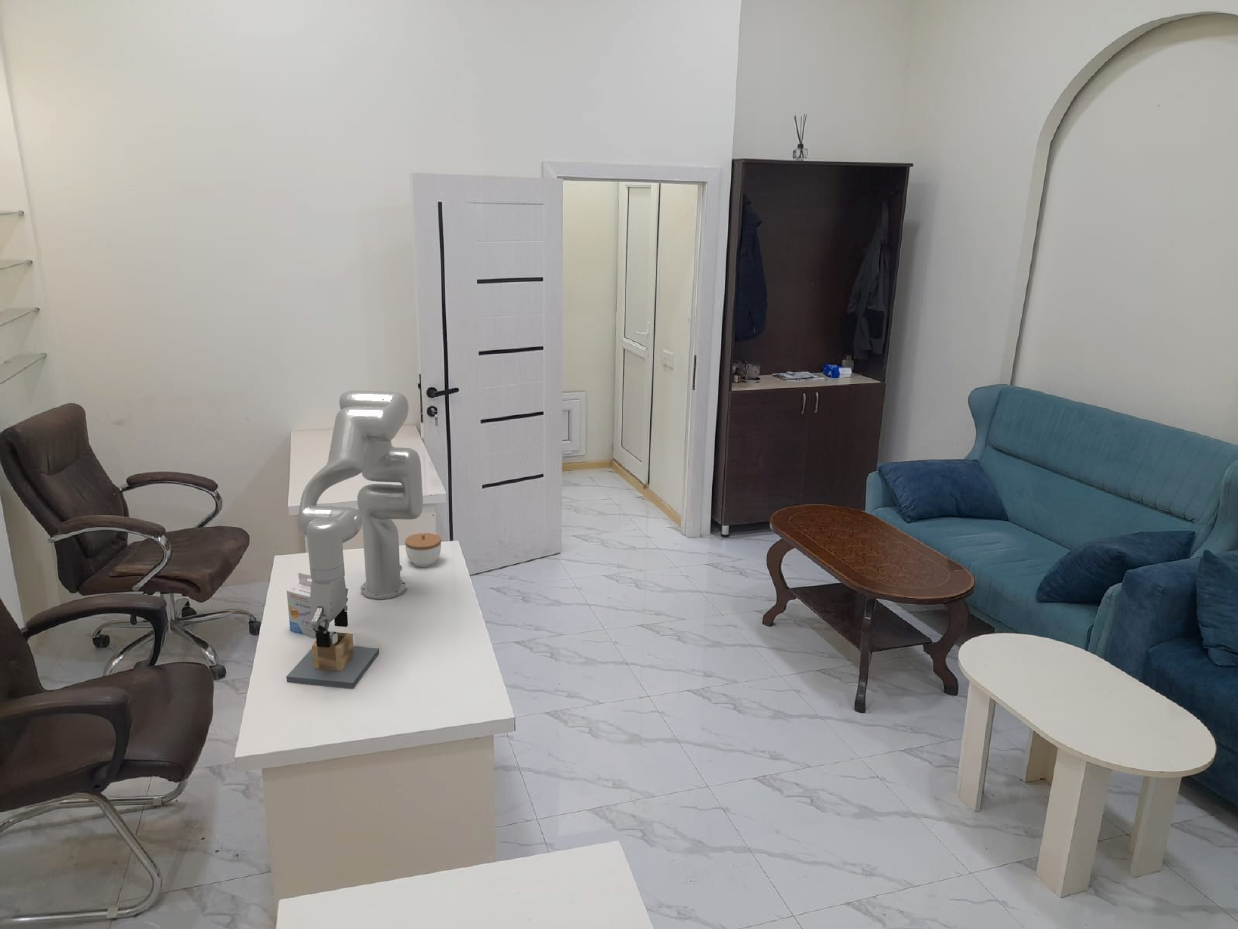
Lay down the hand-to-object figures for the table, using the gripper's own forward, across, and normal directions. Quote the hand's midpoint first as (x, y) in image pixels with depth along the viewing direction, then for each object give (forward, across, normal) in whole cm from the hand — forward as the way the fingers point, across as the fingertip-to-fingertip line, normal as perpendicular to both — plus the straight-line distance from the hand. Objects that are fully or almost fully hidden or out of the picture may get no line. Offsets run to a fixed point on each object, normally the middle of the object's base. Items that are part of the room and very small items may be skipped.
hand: (332, 636), depth 210 cm
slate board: (+8, 0, 0) cm, 8 cm away
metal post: (+7, 0, 0) cm, 7 cm away
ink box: (+9, -16, -14) cm, 23 cm away
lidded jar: (+9, -62, +1) cm, 62 cm away
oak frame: (+7, 0, 0) cm, 7 cm away
